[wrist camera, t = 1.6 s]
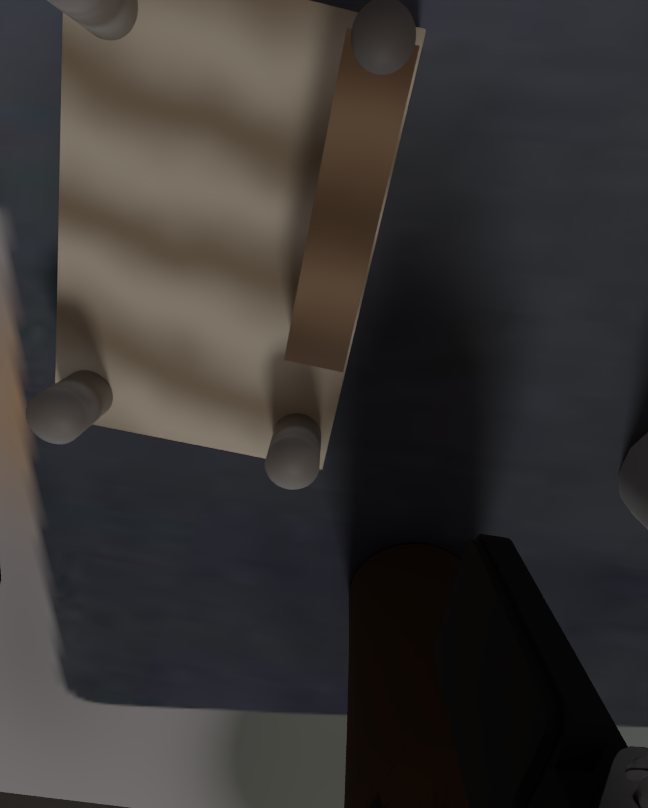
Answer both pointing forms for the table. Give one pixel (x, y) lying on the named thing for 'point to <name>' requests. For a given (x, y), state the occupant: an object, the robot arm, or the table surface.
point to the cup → (636, 480)
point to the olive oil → (399, 684)
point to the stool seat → (193, 224)
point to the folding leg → (352, 181)
